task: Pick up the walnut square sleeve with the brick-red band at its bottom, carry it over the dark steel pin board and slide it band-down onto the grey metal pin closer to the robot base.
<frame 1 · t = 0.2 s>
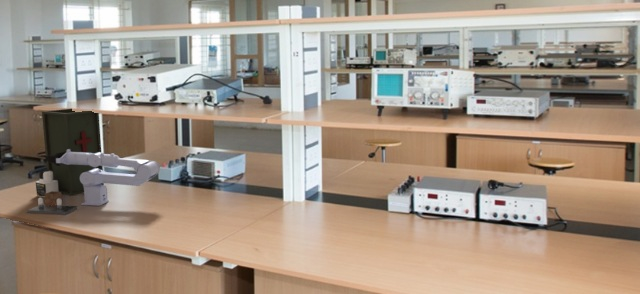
hand: (51, 157, 259), 21 cm above the worktop, tool horizontal, fingers open, 7 cm apart
medicine bottle: (48, 195, 274), on the worktop
first aid box: (76, 189, 285), on the worktop
sleeve: (53, 203, 259), on the worktop
pin board: (52, 210, 248), on the worktop
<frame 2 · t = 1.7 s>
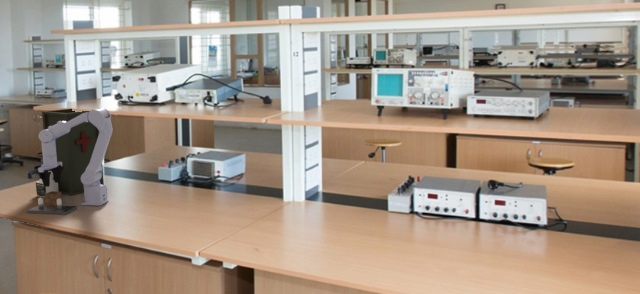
hand: (52, 184, 258), 9 cm above the worktop, tool pointing down, fingers open, 7 cm apart
nothing on the worktop moved.
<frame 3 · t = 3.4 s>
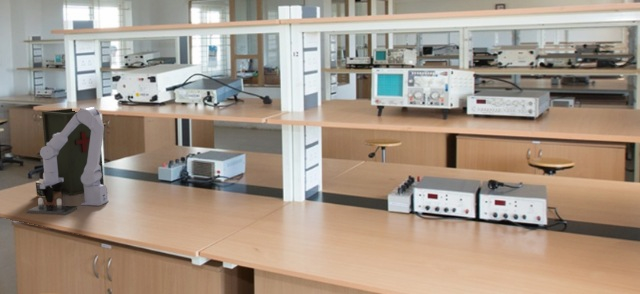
hand: (53, 200, 259), 1 cm above the worktop, tool pointing down, fingers closed on sleeve, 5 cm apart
sleeve: (53, 203, 259), on the worktop, touching gripper
everything else where it was.
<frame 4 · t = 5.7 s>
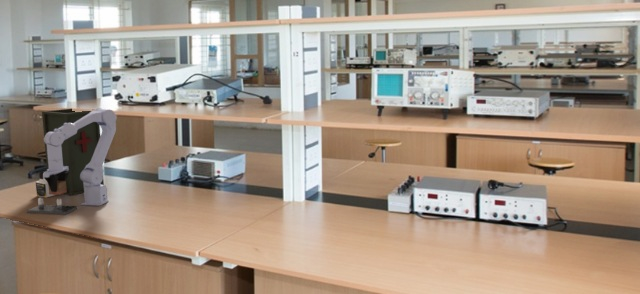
hand: (57, 190, 246), 9 cm above the worktop, tool pointing down, fingers closed on sleeve, 5 cm apart
sleeve: (58, 193, 246), point 8 cm above the worktop, touching gripper
everything else where it was.
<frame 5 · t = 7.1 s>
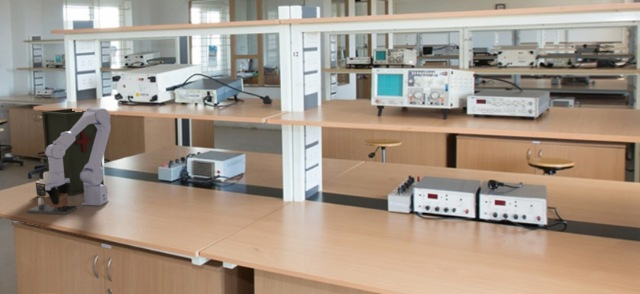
hand: (59, 202, 246), 4 cm above the worktop, tool pointing down, fingers closed on sleeve, 5 cm apart
sleeve: (59, 205, 247), point 3 cm above the worktop, touching gripper
everything else where it was.
when the fingers open (4 cm above the worktop, at t = 8.0 s): sleeve drops 1 cm, resting on pin board.
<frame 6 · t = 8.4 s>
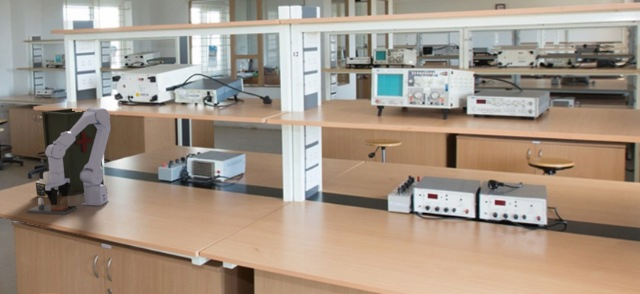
hand: (59, 202, 246), 4 cm above the worktop, tool pointing down, fingers open, 7 cm apart
sleeve: (59, 208, 247), point 1 cm above the worktop, touching pin board
everything else where it was.
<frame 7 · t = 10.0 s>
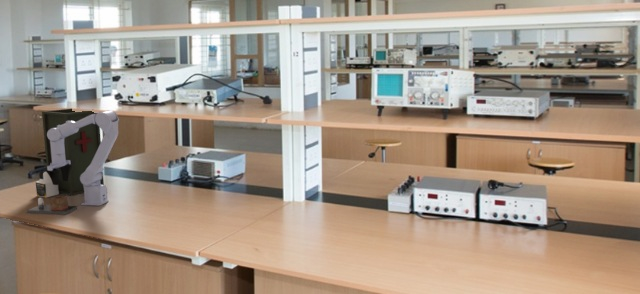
hand: (60, 182, 259), 9 cm above the worktop, tool pointing down, fingers open, 7 cm apart
nothing on the worktop moved.
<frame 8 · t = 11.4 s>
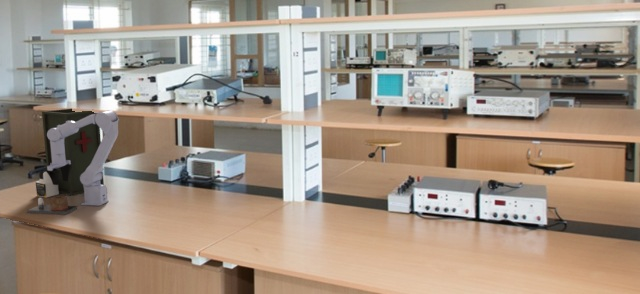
hand: (60, 182, 259), 9 cm above the worktop, tool pointing down, fingers open, 7 cm apart
nothing on the worktop moved.
at the end: sleeve 0.1 cm from the target spot on the pin board, point 1.2 cm above the pin board's base; sleeve tilted 0°; the gripper is holding nothing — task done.
